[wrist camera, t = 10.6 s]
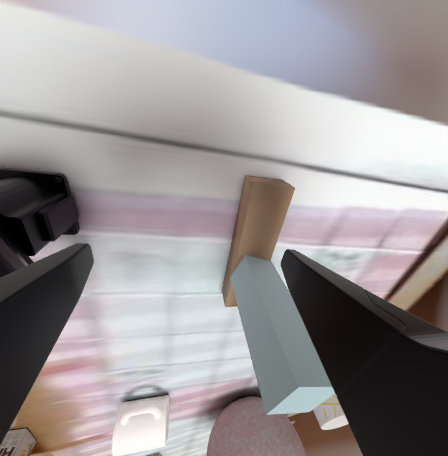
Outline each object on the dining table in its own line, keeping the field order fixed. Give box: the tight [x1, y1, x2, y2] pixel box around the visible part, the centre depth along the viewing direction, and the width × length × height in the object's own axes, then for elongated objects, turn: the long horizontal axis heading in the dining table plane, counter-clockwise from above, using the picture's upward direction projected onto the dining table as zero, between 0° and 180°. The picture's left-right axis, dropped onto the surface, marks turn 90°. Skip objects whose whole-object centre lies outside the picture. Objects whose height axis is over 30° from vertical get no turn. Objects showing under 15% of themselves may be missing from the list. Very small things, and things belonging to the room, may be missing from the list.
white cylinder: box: [313, 394, 349, 430], centre depth 40 cm, size 8×8×12 cm
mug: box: [112, 395, 169, 456], centre depth 39 cm, size 12×10×8 cm
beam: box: [222, 176, 295, 307], centre depth 24 cm, size 4×18×3 cm, turn 171°
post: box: [230, 254, 335, 415], centre depth 18 cm, size 4×4×13 cm
